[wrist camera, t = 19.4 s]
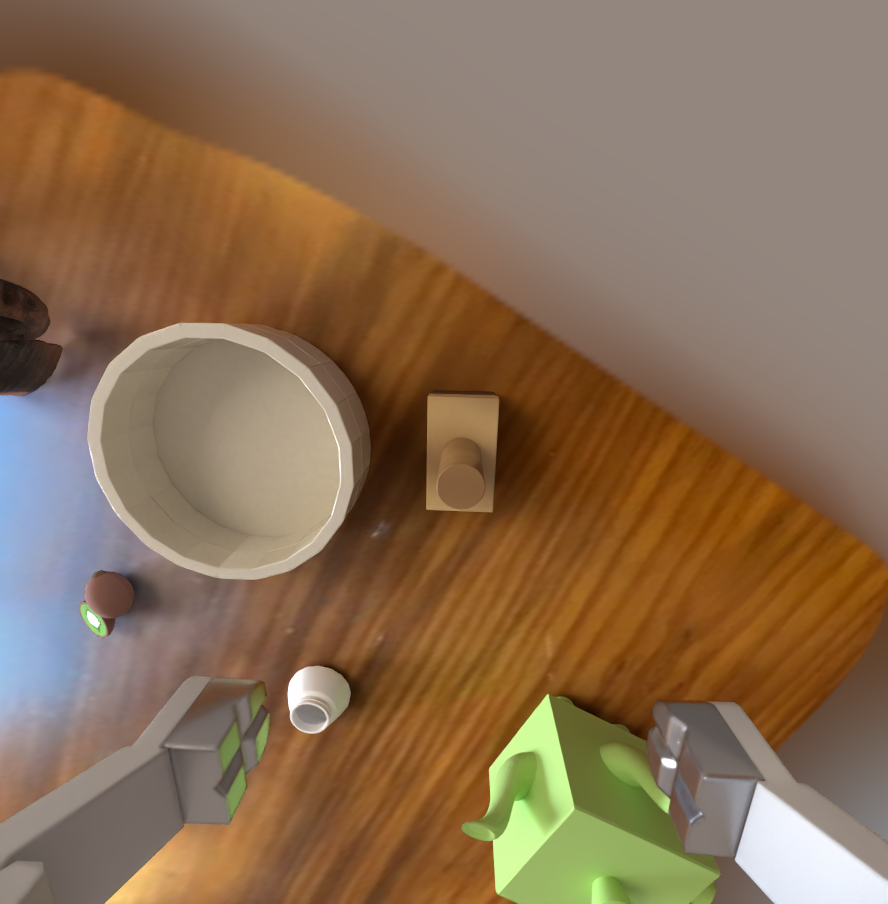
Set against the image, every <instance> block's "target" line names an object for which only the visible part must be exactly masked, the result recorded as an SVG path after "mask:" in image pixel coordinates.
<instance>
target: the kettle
mask: <svg viewBox="0 0 888 904" xmlns="http://www.w3.org/2000/svg"><path fill="white" fill-rule="evenodd" d="M489 778H490V796H491V800H490V805H489V809H488V811H487V813H486V815H485V816H484V817H483V818H482V819H479V820H476V821H471V822H467V823H465V824H463V825H462V830H463V832H464V833H466V834H467V835H469V836H471V837H473V838H476V839H479V840H484V841H492V840H493V849H494V866H495V884H496V892H497V893H498V894H499V895H501V896H503V897H505V898H507V899H509V900H512V901H514V902H516V903H518V904H689V903H690V902H691V903H692V904H710V903H711V902H712V900H713V898H714V896H715V893H716V884H715V883H714V882H713V881H714V880H716V879H717V878H718V877H719V876H720V870H719V868H718V866H717V864H716V862H715V860H714V857H713V855H703V854H692V853H685V851H684V848H683V846H682V844H681V842H680V839H679V837H678V835H677V832H676V830H675V828H674V825H673V823H672V821H671V818H670V816H669V814H668V809H669V804H670V799H669V798H668V797H667V796H666V795H665V794H664V793H663V792H662V791H661V790H660V789H659V788H658V787H657V785H656V783H655V780H654V778H653V775H652V773H651V769H650V765H649V762H648V755H647V741H645V740H643V739H641V738H639V737H637V736H635V735H633V734H631V733H630V732H629V729H628V728H627V727H625V726H624V725H621V724H613V725H612V724H610V723H608V722H606V721H604V720H602V719H600V718H598V717H596V716H594V715H592V714H590V713H588V712H585V711H583V710H581V709H579V708H577V707H575V706H574V705H573V702H572V701H571V700H570V699H568V698H566V697H563V696H558V697H555V696H553V695H550V694H547V695H546V697H545V698H544V699H543V701H542V702H541V703H540V704H539V706H538V707H537V708H536V709H535V711H534V712H533V713H532V715H531V716H530V717H529V718H528V720H527V721H526V722H525V724H524V725H523V726H522V727H521V729H520V730H519V731H518V732H517V734H516V735H515V736H514V738H513V739H512V740H511V741H510V743H509V744H508V745H507V746H506V748H505V749H504V750H503V752H502V753H501V754H500V755H499V757H498V758H497V759H496V760H495V762H494V763H493V764H492V766H491V767H490V768H489Z"/></svg>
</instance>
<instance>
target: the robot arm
mask: <svg viewBox="0 0 888 904" xmlns="http://www.w3.org/2000/svg"><path fill="white" fill-rule="evenodd" d="M266 696H267V693H266V687H265V682H263V681H260V680H248V679H235V678H222V677H202V676H192V677H190V678H188V679H187V680H185V681H184V682H183V684H182V685H181V686H180V687H179V689H178V690H177V691H176V692H175V693H174V695H173V696H172V697H171V698H170V700H169V701H168V702H167V703H166V705H165V706H164V707H163V708H162V710H161V711H160V712H159V713H158V715H157V716H156V717H155V718H154V720H153V721H152V722H151V723H150V725H149V726H148V727H147V728H146V730H145V731H144V732H143V733H142V735H141V736H140V737H139V738H138V740H137V741H136V742H135V743H134V745H133V746H124V747H122V748H121V749H119V750H117V751H116V752H114V753H113V754H111V755H109V756H108V757H106V758H105V759H103V760H101V761H100V762H98V763H97V764H95V765H93V766H92V767H90V768H89V769H87V770H85V771H84V772H82V773H81V774H79V775H77V776H76V777H74V778H73V779H71V780H69V781H68V782H66V783H65V784H63V785H61V786H60V787H58V788H57V789H55V790H53V791H52V792H50V793H48V794H47V795H45V796H44V797H42V798H40V799H39V800H37V801H36V802H34V803H32V804H31V805H29V806H28V807H26V808H24V809H23V810H21V811H20V812H18V813H16V814H15V815H13V816H12V817H10V818H8V819H7V820H5V821H4V822H2V823H0V904H104V903H105V902H106V901H107V900H108V899H109V898H110V897H111V896H113V895H114V894H115V893H116V892H117V891H118V890H119V889H120V888H121V887H122V886H123V885H124V884H125V883H126V882H127V881H128V880H129V879H130V878H131V877H132V876H133V875H134V874H135V873H136V872H137V871H138V870H139V869H141V868H142V867H143V866H144V865H145V864H146V863H147V862H148V861H149V860H150V859H151V858H152V857H153V856H154V855H155V854H156V853H157V852H158V851H159V850H160V849H161V848H162V847H163V846H164V845H165V844H166V843H167V842H168V841H170V840H171V839H172V838H173V837H174V836H175V835H176V834H177V833H178V832H179V831H180V830H181V829H182V828H183V827H184V823H191V824H228V825H229V824H230V822H231V820H232V818H233V816H234V814H235V812H236V810H237V808H238V806H239V804H240V801H241V799H242V797H243V795H244V793H245V791H246V789H247V782H246V774H247V773H248V772H250V771H251V770H252V769H253V768H254V767H256V766H257V765H258V764H259V761H260V759H261V757H262V755H263V753H264V750H265V747H266V743H267V739H268V736H269V727H270V717H269V712H268V710H267V709H266V708H265V707H264V706H263V705H262V703H263V701H264V699H265V697H266ZM652 716H653V718H654V720H655V722H656V725H655V726H654V727H653V728H652V729H651V730H649V731H648V738H647V755H648V762H649V765H650V769H651V773H652V775H653V778H654V780H655V783H656V785H657V787H658V788H659V789H660V790H661V791H662V792H663V793H664V794H665V795H666V796H667V797H668V798H669V799H670V804H669V809H668V814H669V816H670V818H671V821H672V823H673V825H674V828H675V830H676V832H677V835H678V837H679V839H680V842H681V844H682V846H683V848H684V851H685V853H692V854H703V855H713V856H724V857H735V861H736V862H737V863H738V865H740V867H741V868H742V869H743V870H744V871H745V872H746V873H747V874H748V875H749V876H750V878H751V879H752V880H753V881H754V882H755V883H756V884H757V885H758V886H759V887H760V888H761V889H762V891H763V892H764V893H765V894H766V895H767V896H768V897H769V898H770V899H771V900H772V902H773V903H774V904H888V842H887V841H886V840H885V839H883V838H882V837H880V836H879V835H878V834H876V833H875V832H873V831H872V830H870V829H869V828H868V827H866V826H865V825H863V824H862V823H861V822H859V821H858V820H856V819H855V818H854V817H852V816H851V815H849V814H848V813H846V812H845V811H844V810H842V809H841V808H840V807H838V806H836V805H835V804H834V803H833V802H831V801H830V800H828V799H827V798H825V797H824V796H823V795H821V794H820V793H819V792H817V791H816V790H814V789H813V788H812V787H810V786H809V785H807V784H803V783H797V782H796V780H795V779H794V778H793V776H792V775H791V774H790V772H789V771H788V769H787V768H786V767H785V765H784V764H783V763H782V761H781V760H780V759H779V758H778V756H777V755H776V753H775V752H774V751H773V749H772V748H771V747H770V745H769V744H768V743H767V741H766V740H765V739H764V737H763V736H762V735H761V733H760V732H759V730H758V729H757V728H756V726H755V725H754V724H753V722H752V721H751V720H750V718H749V717H748V716H747V714H746V713H745V712H744V710H743V709H742V708H741V707H740V706H739V705H738V704H736V703H735V702H719V701H708V702H706V701H692V700H665V699H657V700H656V702H655V703H654V705H653V710H652Z"/></svg>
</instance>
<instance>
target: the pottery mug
mask: <svg viewBox="0 0 888 904" xmlns="http://www.w3.org/2000/svg"><path fill="white" fill-rule="evenodd" d="M49 325H50V318H49V316H48V309H47V307H46V305H45V304H44V303H43V302H42V301H41V300H40V298H39V297H37V296H36V295H35V294H34V293H32V292H31V291H29V290H27V289H25V288H23V287H21V286H19V285H16V284H14V283H11V282H8V281H5V280H3V279H0V395H14V396H23V395H27V394H29V393H31V392H33V391H35V390H37V389H38V388H39V387H40V386H41V385H43V384H45V383H46V381H47V379H48V378H49V377H50V376H51V375H52V373H53V371H54V370H55V368H56V366H57V363H58V361H59V358H60V355H61V352H62V347H61V346H60V345H57V344H50V343H46V342H44V341H40V340H35V339H36V338H37V337H40V336H41V335H42V334H44V333H45V332H46V330H47V329H48V327H49Z"/></svg>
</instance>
